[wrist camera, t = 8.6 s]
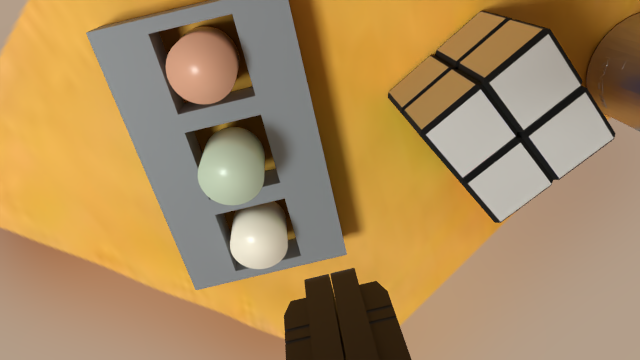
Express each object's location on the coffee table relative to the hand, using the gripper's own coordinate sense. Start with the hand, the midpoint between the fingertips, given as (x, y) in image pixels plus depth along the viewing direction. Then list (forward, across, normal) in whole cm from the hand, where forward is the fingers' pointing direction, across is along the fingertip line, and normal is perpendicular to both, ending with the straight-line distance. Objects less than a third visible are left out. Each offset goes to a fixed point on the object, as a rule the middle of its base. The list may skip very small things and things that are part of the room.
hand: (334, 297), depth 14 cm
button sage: (+25, +6, +4) cm, 26 cm away
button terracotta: (+26, +6, -3) cm, 27 cm away
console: (+27, +6, +4) cm, 28 cm away
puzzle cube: (+27, -14, +5) cm, 31 cm away
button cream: (+26, +6, +12) cm, 30 cm away
